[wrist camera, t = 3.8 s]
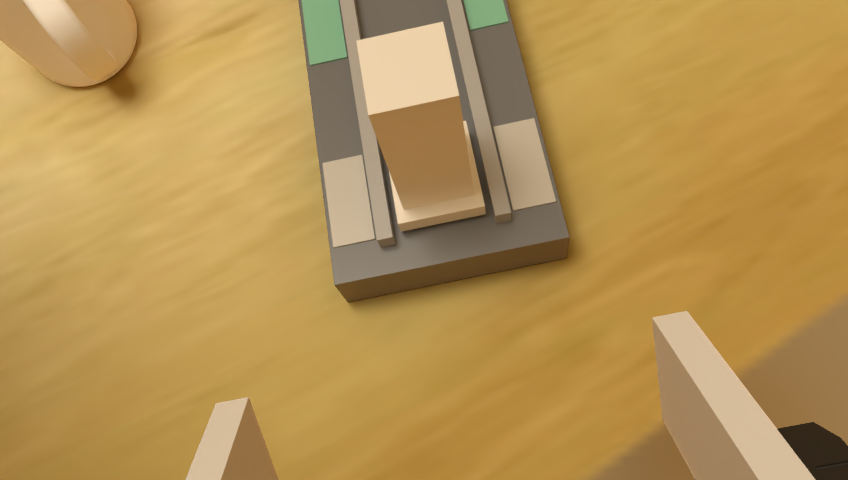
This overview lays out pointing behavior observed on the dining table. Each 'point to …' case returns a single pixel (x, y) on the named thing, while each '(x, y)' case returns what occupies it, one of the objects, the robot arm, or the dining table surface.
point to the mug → (70, 37)
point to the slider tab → (420, 126)
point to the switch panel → (489, 134)
